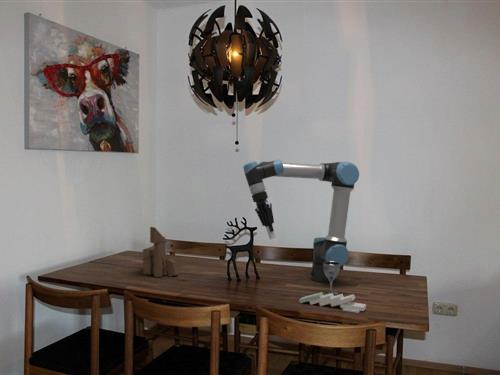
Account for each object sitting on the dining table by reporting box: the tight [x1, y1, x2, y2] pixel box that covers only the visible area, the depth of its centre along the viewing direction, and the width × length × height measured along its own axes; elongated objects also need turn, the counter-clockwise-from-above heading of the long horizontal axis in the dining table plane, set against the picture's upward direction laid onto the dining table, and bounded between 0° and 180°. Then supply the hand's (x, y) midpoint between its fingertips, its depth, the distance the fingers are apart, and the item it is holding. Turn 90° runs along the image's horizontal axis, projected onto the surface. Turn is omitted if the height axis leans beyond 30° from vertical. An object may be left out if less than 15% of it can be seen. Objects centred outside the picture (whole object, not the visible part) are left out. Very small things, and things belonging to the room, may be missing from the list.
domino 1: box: [298, 291, 325, 304], centre depth 207 cm, size 2×5×10 cm
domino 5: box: [339, 301, 367, 312], centre depth 199 cm, size 2×5×10 cm
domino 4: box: [329, 293, 356, 307], centre depth 201 cm, size 2×5×10 cm
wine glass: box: [323, 261, 341, 296], centre depth 224 cm, size 8×8×15 cm
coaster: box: [342, 308, 361, 314], centre depth 199 cm, size 8×7×1 cm
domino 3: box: [318, 293, 345, 307], centre depth 203 cm, size 2×5×10 cm
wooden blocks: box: [142, 226, 180, 278], centre depth 261 cm, size 24×20×28 cm
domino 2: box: [308, 293, 335, 305], centre depth 205 cm, size 2×5×10 cm
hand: (272, 238), depth 225 cm, fingers closed
